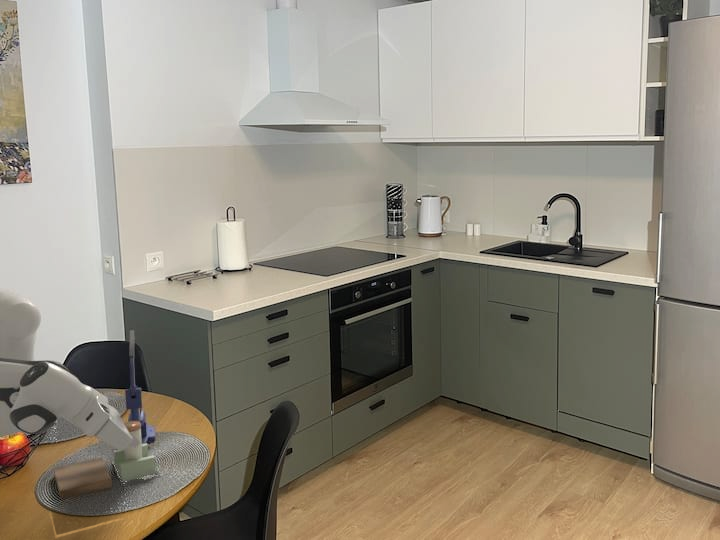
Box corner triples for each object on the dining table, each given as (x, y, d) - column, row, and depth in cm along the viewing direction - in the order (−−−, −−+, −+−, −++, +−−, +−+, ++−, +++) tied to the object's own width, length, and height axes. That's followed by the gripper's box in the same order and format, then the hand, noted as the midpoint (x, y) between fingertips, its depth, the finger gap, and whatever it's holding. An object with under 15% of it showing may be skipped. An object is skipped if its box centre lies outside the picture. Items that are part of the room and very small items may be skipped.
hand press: (155, 453, 176) (148, 349, 170) (119, 457, 173) (111, 352, 168) (155, 423, 193) (148, 328, 188) (122, 427, 191) (115, 331, 185)
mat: (110, 462, 171) (110, 461, 170) (147, 454, 175) (147, 453, 175) (122, 488, 159) (122, 486, 159) (161, 478, 163) (161, 476, 163)
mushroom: (122, 457, 167) (119, 423, 165) (140, 453, 169) (138, 419, 167) (126, 465, 163) (123, 430, 161) (145, 460, 165) (142, 426, 163)
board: (54, 477, 163) (53, 468, 163) (102, 466, 169) (102, 457, 168) (61, 501, 153) (60, 491, 153) (112, 488, 159) (111, 478, 158)
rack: (114, 464, 169) (112, 449, 168) (146, 456, 173) (145, 442, 172) (122, 482, 161) (121, 466, 160) (156, 473, 164) (155, 458, 164)
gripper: (73, 405, 167) (117, 434, 174) (86, 437, 149) (135, 468, 156) (91, 385, 168) (134, 414, 175) (106, 414, 151) (154, 445, 158)
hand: (135, 439), depth 165 cm, fingers closed on mushroom, 4 cm apart
